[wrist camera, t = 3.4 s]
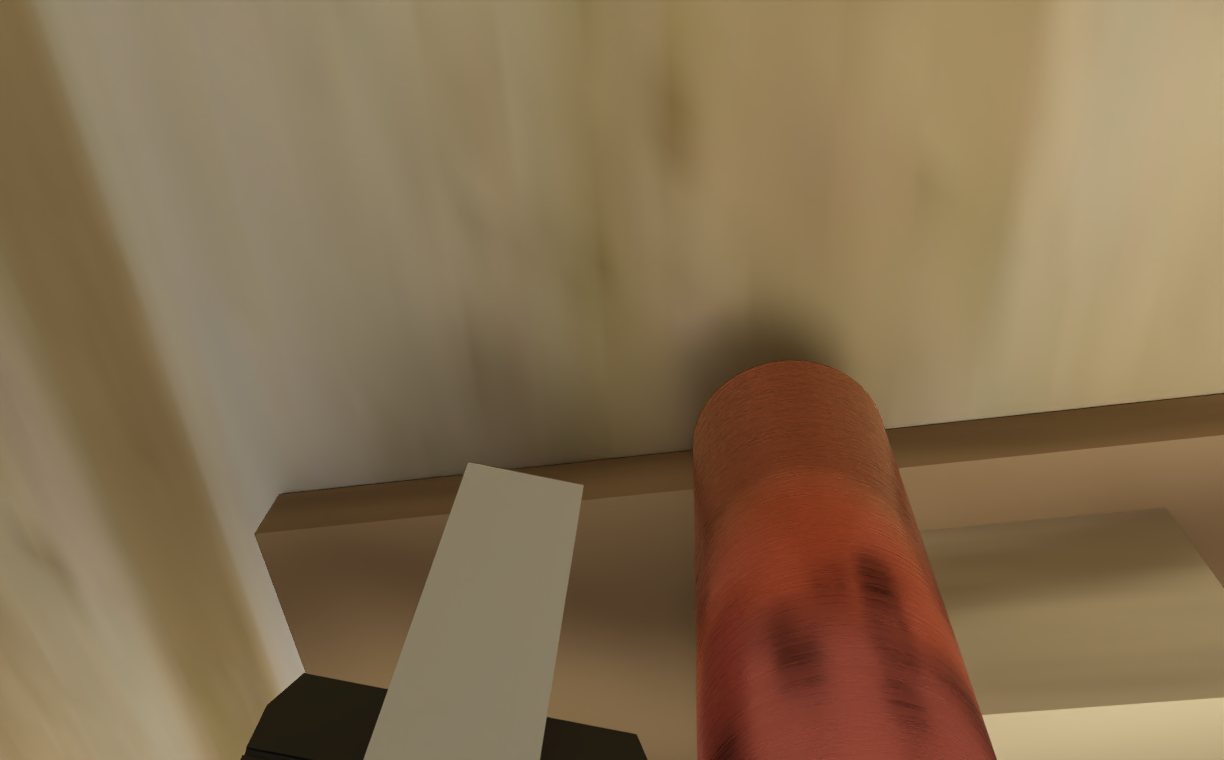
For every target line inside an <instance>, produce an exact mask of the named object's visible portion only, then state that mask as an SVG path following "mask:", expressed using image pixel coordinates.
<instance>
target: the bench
mask: <svg viewBox="0 0 1224 760" xmlns="http://www.w3.org/2000/svg"><path fill="white" fill-rule="evenodd" d="M885 431H886V434H887V437H888V440H889V443H890V446H891V448H892V451H893V454H894V457H895V460H896V463H897V466H898V469H899V472H900V475H901V478H902V481H903V484H904V487H905V490H906V493H907V496H908V499H909V502H910V505H911V507H912V510H913V513H914V516H915V519H916V522H917V525H918V528H919V531H923V530H933V529H944V528H954V527H965V526H975V525H986V524H997V523H1007V522H1018V521H1028V520H1039V519H1049V518H1060V517H1071V516H1081V515H1092V514H1102V513H1113V512H1123V511H1134V510H1145V509H1155V508H1166V509H1167V510H1168V511H1169V513H1170V514H1171V516H1172V517H1173V518H1174V520H1175V521H1176V522H1177V524H1178V525H1179V527H1180V528H1181V529H1182V531H1183V532H1184V534H1185V535H1186V536H1187V538H1188V539H1189V541H1190V542H1191V543H1192V545H1193V546H1194V547H1195V549H1196V550H1197V552H1198V553H1199V554H1200V556H1201V557H1202V559H1203V560H1204V561H1205V563H1206V564H1207V566H1208V567H1209V568H1210V570H1211V571H1212V572H1213V574H1214V575H1215V577H1216V578H1217V579H1218V581H1219V582H1220V584H1221V585H1222V586H1223V588H1224V394H1217V395H1207V396H1198V397H1189V398H1179V399H1170V400H1161V401H1151V402H1142V403H1132V404H1123V405H1114V406H1104V407H1095V408H1086V409H1076V410H1067V411H1057V412H1048V413H1039V414H1029V415H1020V416H1011V417H1001V418H992V419H982V420H973V421H964V422H954V423H945V424H935V425H926V426H917V427H907V428H898V429H889V430H885ZM510 471H515V472H520V473H525V474H530V475H535V476H540V477H545V478H550V479H555V480H560V481H565V482H570V483H575V484H580V485H584V487H583V493H582V499H581V505H580V512H579V518H578V524H577V530H576V537H575V543H574V549H573V556H572V562H571V568H570V574H569V581H568V587H567V593H566V599H565V606H564V612H563V618H562V624H561V631H560V637H559V643H558V650H557V656H556V662H555V668H554V675H553V681H552V687H551V693H550V700H549V706H548V712H547V717H550V718H555V719H561V720H566V721H571V722H576V723H581V724H587V725H592V726H597V727H602V728H607V729H612V730H618V731H623V732H628V733H633V734H637V736H638V738H639V741H640V743H641V745H642V748H643V750H644V752H645V755H646V757H647V759H648V760H697V717H696V638H695V558H694V479H693V450H692V451H682V452H673V453H664V454H654V455H645V456H635V457H626V458H617V459H607V460H598V461H588V462H579V463H570V464H560V465H551V466H542V467H532V468H523V469H513V470H510ZM463 476H464V475H457V476H448V477H438V478H429V479H420V480H410V481H401V482H392V483H382V484H373V485H363V486H354V487H345V488H335V489H326V490H317V491H307V492H298V493H288V494H279V495H278V497H277V498H276V500H275V502H274V503H273V505H272V507H271V508H270V510H269V511H268V513H267V515H266V516H265V518H264V519H263V521H262V523H261V524H260V526H259V527H258V529H257V531H256V532H255V537H256V539H257V542H258V545H259V548H260V550H261V553H262V556H263V558H264V561H265V564H266V566H267V569H268V572H269V575H270V577H271V580H272V583H273V585H274V588H275V591H276V593H277V596H278V599H279V602H280V604H281V607H282V610H283V612H284V615H285V618H286V621H287V623H288V626H289V629H290V631H291V634H292V637H293V639H294V642H295V645H296V648H297V650H298V653H299V656H300V658H301V661H302V664H303V666H304V669H305V672H306V673H307V674H312V675H317V676H322V677H327V678H333V679H338V680H343V681H348V682H353V683H359V684H364V685H369V686H374V687H379V688H384V689H388V688H389V686H390V683H391V680H392V677H393V674H394V671H395V669H396V666H397V663H398V660H399V657H400V654H401V652H402V649H403V646H404V643H405V640H406V637H407V635H408V632H409V629H410V626H411V623H412V620H413V618H414V615H415V612H416V609H417V606H418V603H419V600H420V598H421V595H422V592H423V589H424V586H425V583H426V581H427V578H428V575H429V572H430V569H431V566H432V564H433V561H434V558H435V555H436V552H437V549H438V547H439V544H440V541H441V538H442V535H443V532H444V530H445V527H446V524H447V521H448V518H449V515H450V512H451V510H452V507H453V504H454V501H455V498H456V495H457V493H458V490H459V487H460V484H461V481H462V478H463Z"/></svg>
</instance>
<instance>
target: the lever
mask: <svg viewBox="0 0 1224 760" xmlns="http://www.w3.org/2000/svg"><path fill="white" fill-rule="evenodd" d="M693 479H694V558H695V638H696V717H697V760H997V758H996V755H995V752H994V749H993V746H992V743H991V740H990V737H989V735H988V732H987V729H986V726H985V723H984V720H983V717H982V714H981V711H980V708H979V705H978V702H977V699H976V696H975V693H974V690H973V687H972V684H971V681H970V678H969V676H968V673H967V670H966V667H965V664H964V661H963V658H962V655H961V652H960V649H959V646H958V643H957V640H956V637H955V634H954V631H953V628H952V625H951V622H950V620H949V617H948V614H947V611H946V608H945V605H944V602H943V599H942V596H941V593H940V590H939V587H938V584H937V581H936V578H935V575H934V572H933V569H932V566H931V563H930V561H929V558H928V555H927V552H926V549H925V546H924V543H923V540H922V537H921V534H920V531H919V528H918V525H917V522H916V519H915V516H914V513H913V510H912V507H911V505H910V502H909V499H908V496H907V493H906V490H905V487H904V484H903V481H902V478H901V475H900V472H899V469H898V466H897V463H896V460H895V457H894V454H893V451H892V448H891V446H890V443H889V440H888V437H887V434H886V431H885V428H884V425H883V422H882V419H881V416H880V413H879V411H878V409H877V407H876V405H875V403H874V402H873V400H872V399H871V397H870V396H869V394H868V393H867V392H866V391H865V390H864V389H863V388H862V387H861V386H860V385H859V384H858V383H857V382H855V381H854V380H853V379H852V378H850V377H848V376H847V375H845V374H844V373H842V372H840V371H838V370H836V369H833V368H831V367H828V366H825V365H822V364H819V363H814V362H808V361H796V360H789V361H777V362H771V363H766V364H763V365H759V366H756V367H753V368H751V369H748V370H746V371H744V372H742V373H740V374H738V375H737V376H735V377H733V378H732V379H730V380H729V381H728V382H726V383H725V384H724V385H722V386H721V387H720V388H719V389H718V390H717V391H716V392H715V393H714V394H713V395H712V397H711V398H710V399H709V401H708V402H707V403H706V405H705V407H704V408H703V410H702V412H701V414H700V416H699V419H698V421H697V424H696V428H695V432H694V440H693Z"/></svg>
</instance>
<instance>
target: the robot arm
mask: <svg viewBox="0 0 1224 760" xmlns="http://www.w3.org/2000/svg"><path fill="white" fill-rule="evenodd" d="M583 487H584V485H580V484H575V483H570V482H565V481H560V480H555V479H550V478H545V477H540V476H535V475H530V474H525V473H520V472H515V471H510V470H505V469H500V468H495V467H490V466H485V465H480V464H475V463H470V462H468V464H467V467H466V470H465V473H464V476H463V478H462V481H461V484H460V487H459V490H458V493H457V495H456V498H455V501H454V504H453V507H452V510H451V512H450V515H449V518H448V521H447V524H446V527H445V530H444V532H443V535H442V538H441V541H440V544H439V547H438V549H437V552H436V555H435V558H434V561H433V564H432V566H431V569H430V572H429V575H428V578H427V581H426V583H425V586H424V589H423V592H422V595H421V598H420V600H419V603H418V606H417V609H416V612H415V615H414V618H413V620H412V623H411V626H410V629H409V632H408V635H407V637H406V640H405V643H404V646H403V649H402V652H401V654H400V657H399V660H398V663H397V666H396V669H395V671H394V674H393V677H392V680H391V683H390V686H389V688H388V689H384V688H379V687H374V686H369V685H364V684H359V683H353V682H348V681H343V680H338V679H333V678H327V677H322V676H317V675H312V674H307V673H304V674H303V675H301V676H300V677H299V678H298V679H297V680H296V681H294V682H293V683H292V684H291V685H290V686H289V687H287V688H286V689H285V690H284V691H283V692H282V693H281V694H279V695H278V696H277V697H276V698H275V699H274V700H272V701H271V702H270V703H269V704H268V705H267V706H266V708H265V710H264V712H263V714H262V717H261V719H260V721H259V723H258V725H257V727H256V729H255V731H254V733H253V735H252V737H251V739H250V741H249V743H248V745H247V748H246V752H245V755H243V756H242V758H241V760H648V759H647V757H646V755H645V752H644V750H643V748H642V745H641V743H640V741H639V738H638V736H637V734H633V733H628V732H623V731H618V730H612V729H607V728H602V727H597V726H592V725H587V724H581V723H576V722H571V721H566V720H561V719H555V718H550V717H547V712H548V706H549V700H550V693H551V687H552V681H553V675H554V668H555V662H556V656H557V650H558V643H559V637H560V631H561V624H562V618H563V612H564V606H565V599H566V593H567V587H568V581H569V574H570V568H571V562H572V556H573V549H574V543H575V537H576V530H577V524H578V518H579V512H580V505H581V499H582V493H583Z"/></svg>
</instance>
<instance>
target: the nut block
mask: <svg viewBox="0 0 1224 760" xmlns="http://www.w3.org/2000/svg"><path fill="white" fill-rule="evenodd" d="M920 534H921V537H922V540H923V543H924V546H925V549H926V552H927V555H928V558H929V561H930V563H931V566H932V569H933V572H934V575H935V578H936V581H937V584H938V587H939V590H940V593H941V596H942V599H943V602H944V605H945V608H946V611H947V614H948V617H949V620H950V622H951V625H952V628H953V631H954V634H955V637H956V640H957V643H958V646H959V649H960V652H961V655H962V658H963V661H964V664H965V667H966V670H967V673H968V676H969V678H970V681H971V684H972V687H973V690H974V693H975V696H976V699H977V702H978V705H979V708H980V711H981V714H982V717H983V720H984V723H985V726H986V729H987V732H988V735H989V737H990V740H991V743H992V746H993V749H994V752H995V755H996V758H997V760H1224V588H1223V586H1222V585H1221V584H1220V582H1219V581H1218V579H1217V578H1216V577H1215V575H1214V574H1213V572H1212V571H1211V570H1210V568H1209V567H1208V566H1207V564H1206V563H1205V561H1204V560H1203V559H1202V557H1201V556H1200V554H1199V553H1198V552H1197V550H1196V549H1195V547H1194V546H1193V545H1192V543H1191V542H1190V541H1189V539H1188V538H1187V536H1186V535H1185V534H1184V532H1183V531H1182V529H1181V528H1180V527H1179V525H1178V524H1177V522H1176V521H1175V520H1174V518H1173V517H1172V516H1171V514H1170V513H1169V511H1168V510H1167V509H1166V508H1155V509H1145V510H1134V511H1123V512H1113V513H1102V514H1092V515H1081V516H1071V517H1060V518H1049V519H1039V520H1028V521H1018V522H1007V523H997V524H986V525H975V526H965V527H954V528H944V529H933V530H923V531H920Z"/></svg>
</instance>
